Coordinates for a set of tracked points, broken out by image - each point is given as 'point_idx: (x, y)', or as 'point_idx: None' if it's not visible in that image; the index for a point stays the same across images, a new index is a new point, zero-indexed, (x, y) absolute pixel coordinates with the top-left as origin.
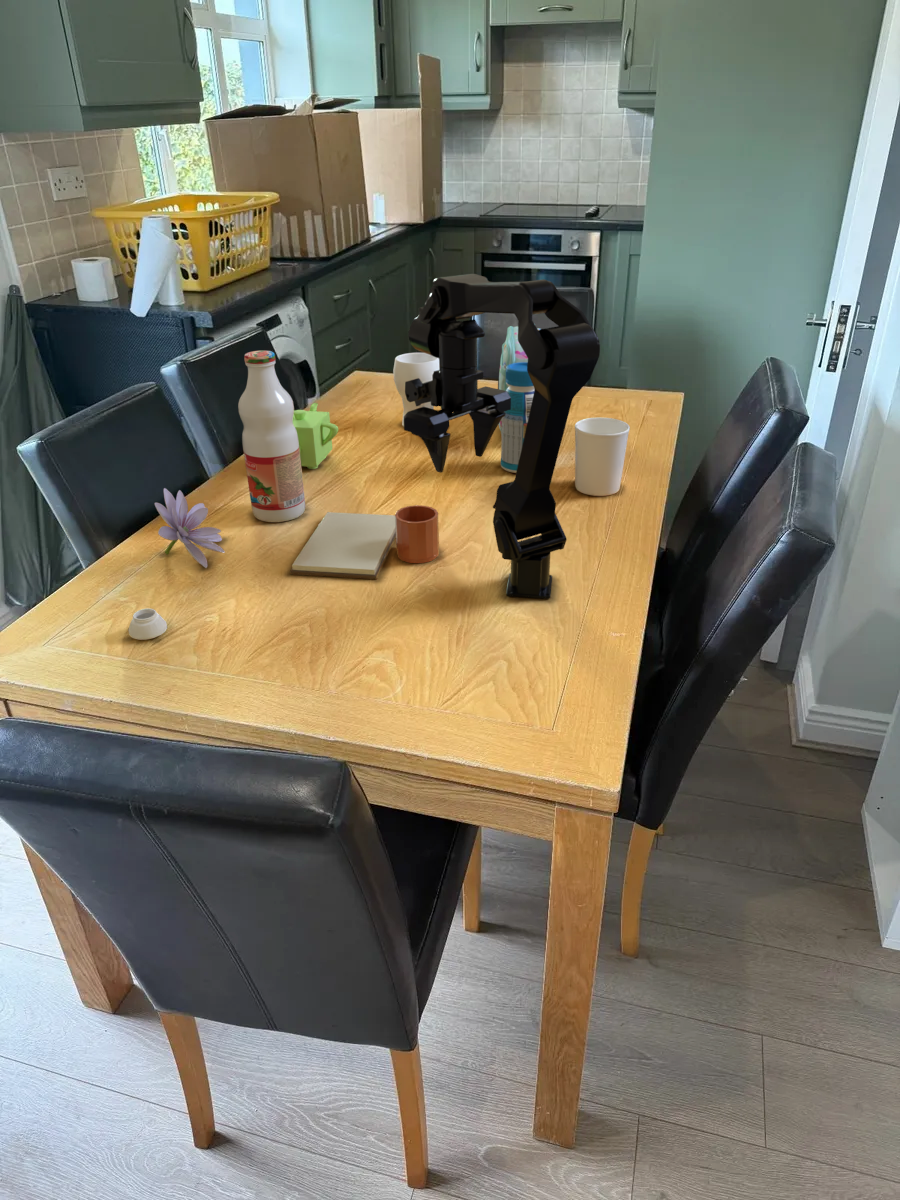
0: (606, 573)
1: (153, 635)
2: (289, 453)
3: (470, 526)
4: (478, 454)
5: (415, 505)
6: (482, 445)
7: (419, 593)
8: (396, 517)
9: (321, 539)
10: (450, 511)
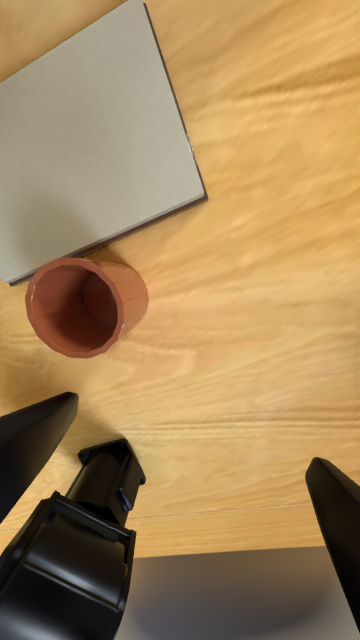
0: (191, 522)
1: None
2: None
3: (248, 324)
4: (313, 476)
5: (112, 282)
6: (337, 557)
7: (24, 358)
8: (31, 278)
9: (24, 105)
10: (298, 259)
